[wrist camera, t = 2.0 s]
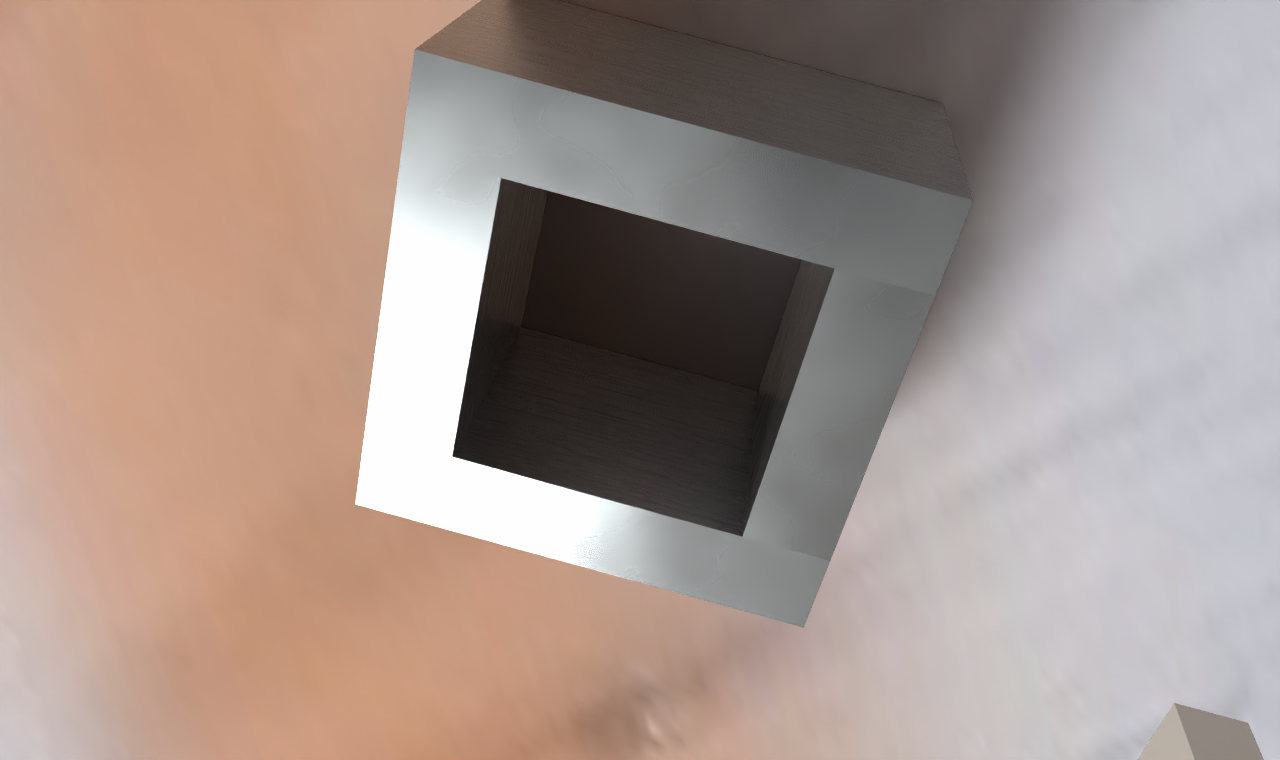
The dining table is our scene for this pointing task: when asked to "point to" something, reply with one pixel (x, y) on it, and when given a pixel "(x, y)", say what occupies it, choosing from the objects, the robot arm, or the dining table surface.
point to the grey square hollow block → (627, 386)
